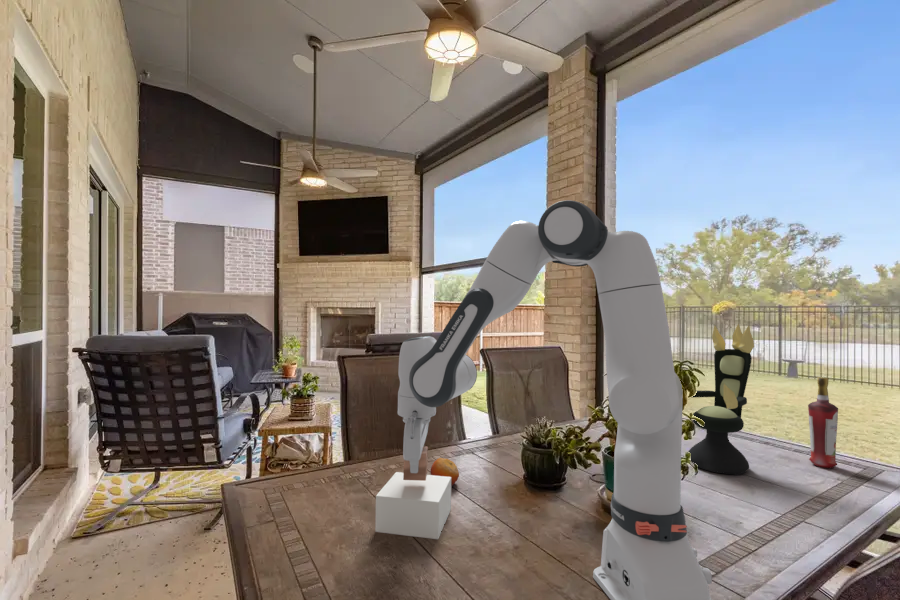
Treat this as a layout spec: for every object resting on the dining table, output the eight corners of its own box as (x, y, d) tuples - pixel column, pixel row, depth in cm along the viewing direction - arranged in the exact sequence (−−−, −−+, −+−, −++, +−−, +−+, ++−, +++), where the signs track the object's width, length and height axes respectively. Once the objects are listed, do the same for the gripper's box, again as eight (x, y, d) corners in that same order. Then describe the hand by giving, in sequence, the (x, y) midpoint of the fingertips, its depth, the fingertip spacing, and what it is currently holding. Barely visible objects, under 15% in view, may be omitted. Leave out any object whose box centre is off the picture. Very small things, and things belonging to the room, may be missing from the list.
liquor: (813, 460, 143) (813, 375, 144) (842, 467, 137) (842, 378, 138) (804, 464, 140) (804, 377, 140) (833, 471, 133) (833, 380, 134)
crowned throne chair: (669, 459, 142) (670, 322, 143) (713, 451, 151) (714, 322, 152) (727, 480, 125) (727, 324, 126) (773, 469, 134) (773, 324, 135)
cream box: (438, 540, 91) (438, 502, 92) (375, 532, 94) (375, 495, 94) (450, 510, 105) (451, 476, 105) (395, 504, 108) (396, 471, 108)
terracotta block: (425, 480, 97) (426, 453, 97) (403, 479, 97) (403, 453, 97) (427, 472, 102) (427, 446, 102) (406, 471, 102) (406, 446, 102)
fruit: (427, 472, 125) (442, 449, 124) (450, 488, 123) (465, 465, 122) (420, 483, 117) (435, 459, 116) (444, 501, 115) (460, 476, 115)
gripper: (427, 418, 90) (425, 485, 89) (433, 397, 110) (432, 452, 110) (396, 417, 90) (395, 484, 90) (408, 397, 110) (407, 451, 110)
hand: (415, 466), depth 100 cm, fingers closed on terracotta block, 5 cm apart
